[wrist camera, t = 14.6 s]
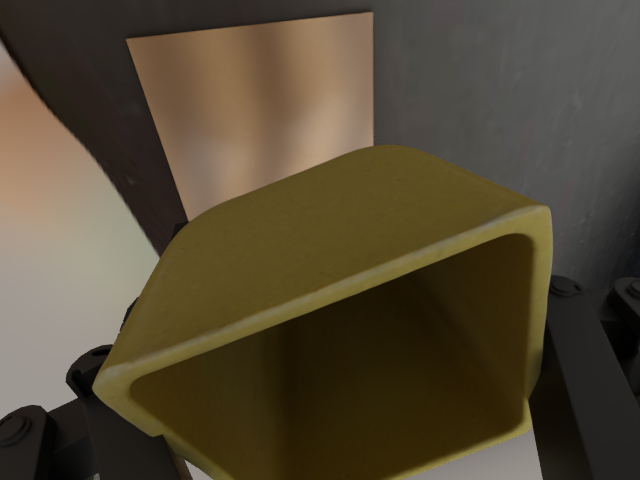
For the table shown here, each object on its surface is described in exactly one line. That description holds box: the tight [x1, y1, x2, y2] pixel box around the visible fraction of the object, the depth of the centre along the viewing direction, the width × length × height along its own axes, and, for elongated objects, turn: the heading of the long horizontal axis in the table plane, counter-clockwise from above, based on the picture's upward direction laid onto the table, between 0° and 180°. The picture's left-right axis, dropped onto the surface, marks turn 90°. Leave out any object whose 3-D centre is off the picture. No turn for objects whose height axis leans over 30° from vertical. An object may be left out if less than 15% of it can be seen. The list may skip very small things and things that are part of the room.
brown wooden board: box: [126, 11, 373, 222], centre depth 25 cm, size 15×14×1 cm
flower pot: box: [92, 145, 553, 480], centre depth 12 cm, size 9×9×9 cm
